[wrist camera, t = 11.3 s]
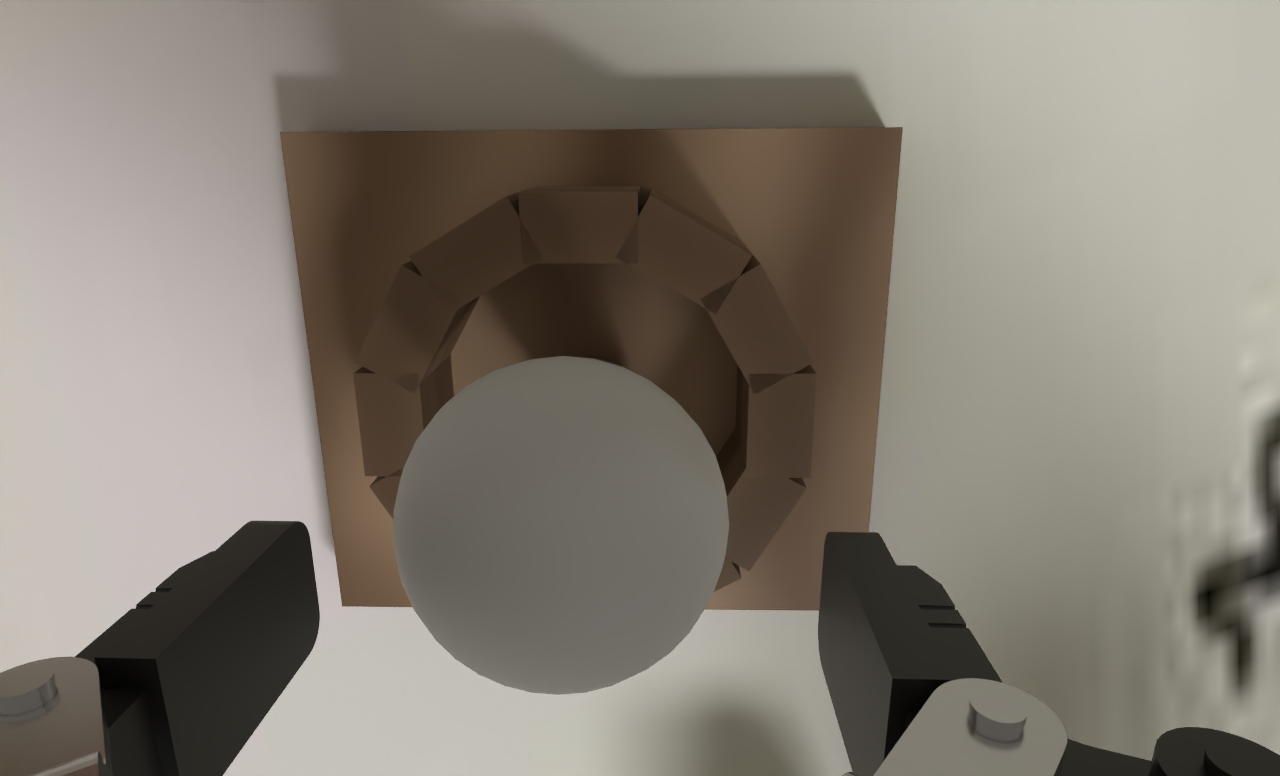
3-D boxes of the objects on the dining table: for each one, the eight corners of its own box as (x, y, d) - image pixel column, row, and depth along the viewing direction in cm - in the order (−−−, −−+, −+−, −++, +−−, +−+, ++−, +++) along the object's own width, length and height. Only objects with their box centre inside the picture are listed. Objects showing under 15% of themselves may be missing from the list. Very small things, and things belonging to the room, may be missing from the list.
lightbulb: (464, 310, 22) (279, 464, 11) (682, 264, 21) (701, 379, 11) (520, 509, 24) (406, 802, 13) (724, 470, 23) (775, 744, 13)
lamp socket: (886, 128, 22) (942, 123, 17) (850, 584, 26) (888, 672, 21) (305, 133, 22) (218, 129, 18) (359, 581, 26) (300, 666, 22)
